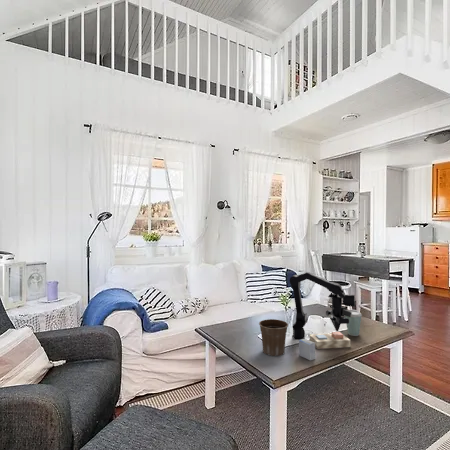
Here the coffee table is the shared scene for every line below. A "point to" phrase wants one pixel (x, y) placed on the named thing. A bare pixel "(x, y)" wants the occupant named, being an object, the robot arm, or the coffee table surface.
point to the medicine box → (307, 349)
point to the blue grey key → (321, 337)
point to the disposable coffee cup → (354, 323)
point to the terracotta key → (337, 335)
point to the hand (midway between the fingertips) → (337, 330)
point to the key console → (329, 341)
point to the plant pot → (273, 336)
